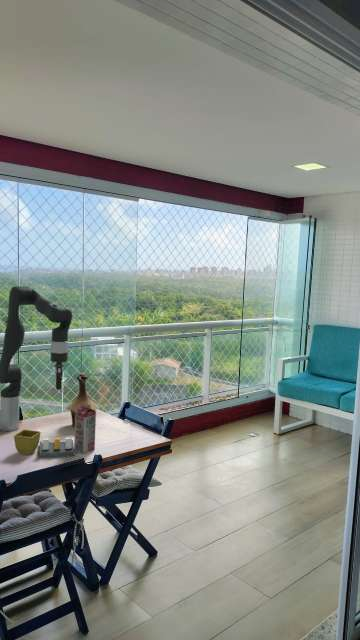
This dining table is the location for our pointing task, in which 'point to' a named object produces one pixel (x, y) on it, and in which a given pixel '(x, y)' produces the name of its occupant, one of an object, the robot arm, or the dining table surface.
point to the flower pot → (27, 441)
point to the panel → (56, 450)
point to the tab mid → (56, 443)
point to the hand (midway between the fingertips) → (58, 387)
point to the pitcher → (81, 398)
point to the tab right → (68, 442)
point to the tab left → (45, 443)
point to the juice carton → (85, 429)
